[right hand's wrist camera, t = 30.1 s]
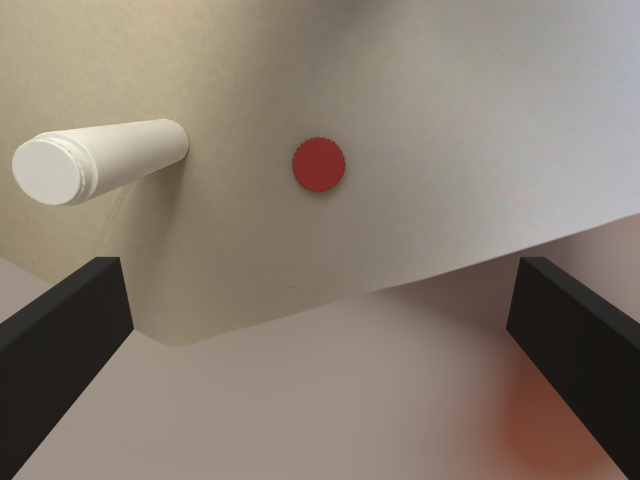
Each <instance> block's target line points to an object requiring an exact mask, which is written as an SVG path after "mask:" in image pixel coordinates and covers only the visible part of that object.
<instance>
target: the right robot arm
mask: <svg viewBox="0 0 640 480" xmlns="http://www.w3.org/2000/svg"><path fill="white" fill-rule="evenodd" d="M133 330H134V326H133V322H132V317H131V312H130V307H129V302H128V297H127V292H126V287H125V282H124V277H123V272H122V267H121V262H120V257H95V258H94V259H92V260H91V261H90V262H88V263H87V264H85V265H84V266H82V267H81V268H79V269H78V270H77V271H75V272H74V273H72V274H71V275H69V276H68V277H67V278H65V279H64V280H62V281H61V282H59V283H58V284H57V285H55V286H54V287H52V288H51V289H49V290H48V291H47V292H45V293H44V294H42V295H41V296H39V297H38V298H37V299H35V300H34V301H32V302H31V303H29V304H28V305H27V306H25V307H24V308H22V309H21V310H19V311H18V312H17V313H15V314H14V315H12V316H11V317H9V318H8V319H7V320H5V321H4V322H2V323H1V324H0V480H11V479H12V478H13V477H14V476H15V474H16V473H17V472H18V471H19V470H20V468H21V467H22V466H23V465H24V463H25V462H26V461H27V460H28V459H29V457H30V456H31V455H32V454H33V452H34V451H35V450H36V449H37V448H38V446H39V445H40V444H41V443H42V441H43V440H44V439H45V438H46V436H47V435H48V434H49V433H50V432H51V430H52V429H53V428H54V427H55V425H56V424H57V423H58V422H59V420H60V419H61V418H62V417H63V415H64V414H65V413H66V412H67V411H68V409H69V408H70V407H71V406H72V404H73V403H74V402H75V401H76V400H77V398H78V397H79V396H80V395H81V393H82V392H83V391H84V390H85V389H86V387H87V386H88V385H89V384H90V382H91V381H92V380H93V379H94V377H95V376H96V375H97V374H98V373H99V371H100V370H101V369H102V368H103V366H104V365H105V364H106V363H107V362H108V360H109V359H110V358H111V357H112V355H113V354H114V353H115V352H116V350H117V349H118V348H119V347H120V346H121V344H122V343H123V342H124V341H125V339H126V338H127V337H128V336H129V334H130V333H131V332H132V331H133ZM506 330H507V331H508V332H509V333H510V334H511V336H512V337H513V338H514V339H515V341H516V342H517V343H518V344H519V346H520V347H521V348H522V349H523V350H524V352H525V353H526V354H527V355H528V357H529V358H530V359H531V360H532V361H533V363H534V364H535V365H536V366H537V368H538V369H539V370H540V371H541V373H542V374H543V375H544V376H545V377H546V379H547V380H548V381H549V382H550V384H551V385H552V386H553V387H554V389H555V390H556V391H557V392H558V393H559V395H560V396H561V397H562V398H563V400H564V401H565V402H566V403H567V405H568V406H569V407H570V408H571V409H572V411H573V412H574V413H575V414H576V416H577V417H578V418H579V419H580V420H581V422H582V423H583V424H584V425H585V427H586V428H587V429H588V430H589V431H590V433H591V434H592V435H593V436H594V438H595V439H596V440H597V441H598V443H599V444H600V445H601V446H602V448H603V449H604V450H605V451H606V452H607V454H608V455H609V456H610V457H611V459H612V460H613V461H614V462H615V464H616V465H617V466H618V467H619V468H620V470H621V471H622V472H623V473H624V475H625V476H626V477H627V478H628V479H629V480H640V324H639V323H638V322H636V321H635V320H633V319H632V318H631V317H629V316H628V315H626V314H625V313H623V312H622V311H621V310H619V309H618V308H616V307H615V306H613V305H612V304H610V303H609V302H608V301H606V300H605V299H603V298H602V297H601V296H599V295H598V294H596V293H595V292H593V291H592V290H591V289H589V288H588V287H586V286H585V285H583V284H582V283H581V282H579V281H578V280H576V279H575V278H573V277H572V276H570V275H569V274H568V273H566V272H565V271H563V270H562V269H561V268H559V267H557V266H556V265H555V264H553V263H552V262H550V261H549V260H548V259H546V258H545V257H520V262H519V267H518V272H517V277H516V282H515V287H514V292H513V297H512V302H511V307H510V312H509V317H508V322H507V327H506Z"/></svg>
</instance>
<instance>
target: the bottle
mask: <svg viewBox="0 0 640 480" xmlns="http://www.w3.org/2000/svg"><path fill="white" fill-rule="evenodd" d="M188 147H189V142H188V137H187V134H186V132H185V131H184V129H183V128H182V127H181V126H180V125H179V124H178V123H176V122H174V121H172V120H169V119H157V120H148V121H139V122H131V123H122V124H114V125H105V126H97V127H88V128H79V129H71V130H62V131H54V132H46V133H42V134H39V135H37V136H36V137H34V138H33V139H32V140H31V141H28V142H26V143H24V144H22V145H21V146H20V147H19V148H18V149H17V150H16V152H15V154H14V157H13V161H12V169H13V174H14V177H15V179H16V181H17V183H18V185H19V186H20V188H21V189H22V190H23V191H24V192H25V193H26V194H27V195H28V196H29V197H31V198H32V199H34V200H36V201H38V202H40V203H42V204H46V205H52V206H61V205H64V206H65V205H77V204H81V203H83V202H85V201H88V200H90V199H92V198H95V197H97V196H99V195H102V194H104V193H106V192H109V191H111V190H113V189H116V188H118V187H120V186H123V185H125V184H127V183H130V182H132V181H134V180H136V179H139V178H141V177H143V176H146V175H148V174H150V173H153V172H155V171H157V170H160V169H162V168H164V167H167V166H169V165H171V164H174V163H176V162H178V161H180V160H181V159H183V158H184V157H185V155H186V153H187V151H188Z"/></svg>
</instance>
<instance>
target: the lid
mask: <svg viewBox="0 0 640 480" xmlns="http://www.w3.org/2000/svg"><path fill="white" fill-rule="evenodd" d="M294 155H295V156H294V159H293V166H292V167H293V172H294V174H295V177H296V179H297V180H298V181H299V183H300V184H301V185H303V186H304V187H305V188H307V189H309V190H312V191H325V190H328V189H330V188H332V187H334V186H335V185H336V184H337V183H338V182H339V181H340V179H341V178H342V176H343V173H344V170H345V169H344V168H345V162H344V156H343V155H342V151H340V149H339V146H337V145H336V144H335V142H332V141H330V139H325V138H324V137H323V138H318V137H317V138H313V139H312V138H311V139H310V140H308V141H307V140H306V141H305V142H304V143H303V144H301V146H300V147H299V148H297V152H296V153H295V154H294Z"/></svg>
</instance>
